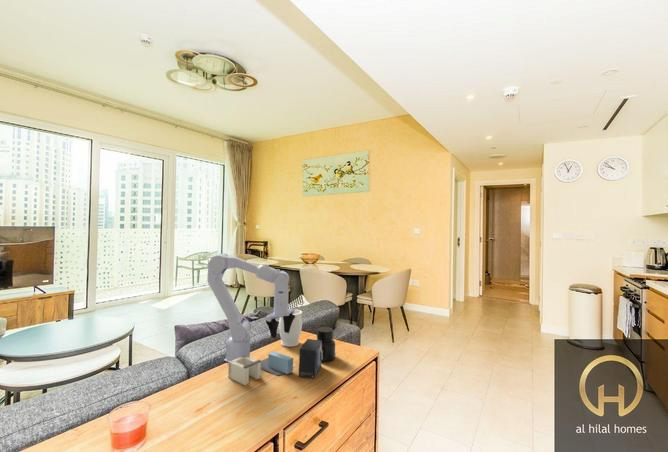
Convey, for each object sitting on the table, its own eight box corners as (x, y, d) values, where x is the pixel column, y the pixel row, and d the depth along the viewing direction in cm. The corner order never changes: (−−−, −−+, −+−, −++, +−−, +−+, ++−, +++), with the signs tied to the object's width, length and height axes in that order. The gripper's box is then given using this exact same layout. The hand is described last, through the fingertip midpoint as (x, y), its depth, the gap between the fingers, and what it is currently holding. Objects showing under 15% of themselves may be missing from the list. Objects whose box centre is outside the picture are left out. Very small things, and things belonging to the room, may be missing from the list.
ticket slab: (268, 366, 122) (268, 353, 122) (273, 364, 125) (274, 351, 125) (287, 374, 117) (287, 360, 117) (292, 371, 119) (293, 357, 119)
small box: (315, 379, 114) (315, 350, 114) (297, 377, 115) (298, 348, 115) (322, 366, 124) (322, 339, 124) (306, 364, 126) (306, 338, 126)
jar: (275, 347, 143) (276, 313, 143) (282, 339, 153) (283, 307, 153) (298, 349, 141) (298, 315, 141) (304, 340, 152) (304, 309, 151)
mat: (252, 365, 124) (252, 364, 124) (267, 358, 130) (267, 357, 130) (278, 376, 116) (278, 375, 116) (293, 368, 122) (293, 367, 122)
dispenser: (228, 377, 114) (228, 360, 114) (243, 370, 120) (244, 353, 120) (245, 385, 109) (245, 367, 109) (260, 377, 114) (260, 360, 114)
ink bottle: (312, 354, 136) (312, 326, 136) (332, 352, 138) (332, 325, 138) (316, 364, 127) (316, 333, 127) (337, 362, 129) (338, 332, 129)
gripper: (275, 306, 121) (274, 342, 121) (300, 299, 133) (299, 332, 133) (262, 303, 125) (261, 338, 125) (287, 297, 137) (287, 328, 137)
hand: (280, 334), depth 129 cm, fingers open, 7 cm apart
